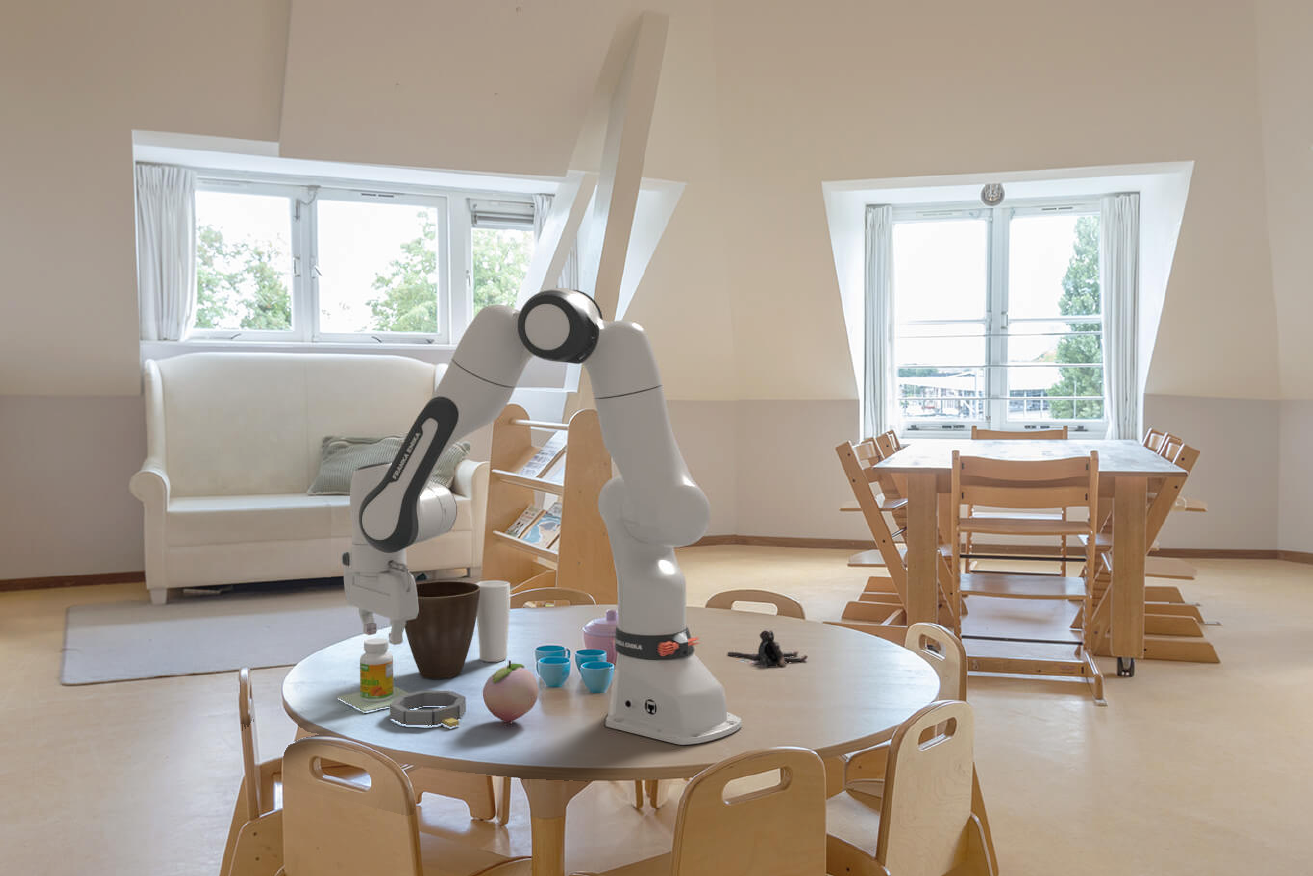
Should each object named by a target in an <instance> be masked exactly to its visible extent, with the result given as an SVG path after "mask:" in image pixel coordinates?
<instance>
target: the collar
mask: <svg viewBox="0 0 1313 876" xmlns="http://www.w3.org/2000/svg"><path fill="white" fill-rule="evenodd" d="M409 693H410V692H409ZM466 699H467V698H466V696H464V695H462V694H460V693H457V692H455V691H452V690H451V691H450V690H424V691H423V690H421V691H416V692H411V693H410V694H406V695H402V696H400V697H397V698H396V699H395V700H394V701H393V702H392V703H391V704H390V708H389V720H390V719H394V720H395V721H398V722H400V723H401V724H406V725H428V726H429V725H431V726H432V725H438V724H441V723H443V724H445V725H447V726H449V727H452V726H456V725H459V726H460V721H458V719H461V717H462V716H463V715H464V716H465V714H466V713H465V712H467V709H466V707H467V706H466V705H467V702H466ZM423 706H446V707H442V708H433V709H417V710H410V709H414V708H419V707H423ZM464 713H465V714H464ZM464 716H463V717H464ZM463 717H462V718H463ZM461 720H462V719H461Z"/></svg>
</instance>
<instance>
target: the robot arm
mask: <svg viewBox="0 0 1313 876" xmlns="http://www.w3.org/2000/svg"><path fill="white" fill-rule="evenodd" d="M533 357H536V358H540V359H543V360H545V361H550V362H555V363H557V362H558V363H568V364H576V365H579V364H582V365H583V366H584V367H585V368H586V371H587V374H588V375H589V380H590V383H591V390H592V393H593V394H592V395H593V399H594V406H595V408H596V413H597V419H598V423H599V428H600V434H601V438H602V444H603V446H604V447H605V449H606V452H608V453H609V455H610V456H611V458H612V459H613V461H614V463H615V465H616V467H617V469H618V472H619V473H620V474H619V475H617V476H614V477H612V478H610V479H609V480H608V481H607V482H606V483H605V484H604V485H603V486H602V487H601V490H600V492H599V495H598V500H597V509H598V513H599V515H600V517H601V520H602V521H603V524H604V525H605V528H606V531H607V536H608V540H609V544H610V548H611V549H610V550H611V553H612V557H613V563H614V568H615V573H616V582H617V583H616V584H617V626H616V627H615V635H614V649H615V651H616V652H617V656H616V661H615V665H614V666H615V667H614V670H613V675H612V684H611V691H610V692H611V694H610V703H609V704H610V705H609V708H608V712H607V717H606V718H605V726H606V727H607V728H611V729H615V730H620V731H622V732H628V733H631V734H635V735H639V736H643V737H647V738H651V739H655V740H658V741H664V742H667V743H671V744H676V745H681V746H684V745H686V746H687V745H696V744H702V743H707V742H710V741H714V740H717V739H721V738H723V737H726V736H728V735H731V734H733V733H734V732H737V731H739V729H740V728H741V727H742V726H743V722H742V718H740V717H739V716H737V715H735V714H733V713H731V712H728V709H727V708H728V707H727V698H726V693H725V689H724V686H723V685H722V683H720V681H719V680H718V679H717V678H716V677H715V676H714V675H713V674H712V672H711V671H710V670H709V669H708V668H707V666H705V664H703V662H702V661H701V659H699V658H698V656H697V655H696V654H695V653H694V652H695V647H694V646H696V645H698V644H699V643H700V642H696V641H697V640H699V638H700V637H698V636H696V637H691V636H692V635H691V633H690V630H689V627H688V626H687V581H686V578H685V577H686V576H685V575H684V573H683V571H682V569H681V568H680V565H679V563H678V560H677V558H676V557H677V556H676V554H675V550H674V549H675V548H681V547H686V546H691V545H693V544H695V543H697V542H698V541H699V540H700V539H702V538H703V536H704V535H705V534H706V533H707V530H708V529H709V527H710V523H711V519H712V509H711V504H710V501H709V499H708V497H707V495H706V494H705V493H704V492H703V490H702V489H701V488H700V487H699V485H697V483H696V482H695V481H694V479H693V476H692V474H691V472H690V470H689V467H688V465H687V464H686V461H685V459H684V457H683V454H682V452H681V450H680V448H679V445H678V442H677V440H676V437H675V436H674V435H675V434H674V431H673V429H672V424H671V420H670V415H669V410H668V405H667V400H666V397H665V396H666V395H665V390H664V386H663V381H662V377H661V376H662V375H661V372H660V368H659V364H658V360H657V358H656V354H655V352H654V349H653V346H652V344H651V341H650V339H649V336H648V334H647V332H646V329H644V328H643V327H642V326H641V325H640V324H639V323H636V322H633V321H628V320H616V321H605V320H604V318H603V315H602V310H601V308H600V306H599V305H598V303H597V302H596V300H595V299H593V297H591V296H590V295H589V294H588V293H585V292H584V291H581V290H577V289H571V288H568V287H567V288H566V287H556V288H551V289H550V288H549V289H548V290H542V291H539V292H538V293H536V294H533V296H531V297H529V299H527V301H526V302H524V304H523V306H522V308H521V310H517V309H515V308H513V307H511V306H508V305H504V304H489V305H486V306H484V307H482V308H481V309H480V310H479V311H478V312H477V314H476V315H475V316H474V318H473V320H472V321H471V322H470V324H469V325H468V327H467V329H466V330H465V332H464V334H463V335H462V337H461V339H460V341H459V343H458V344H457V346H456V349H455V350H454V353H453V355H452V358H451V360H450V361H449V364H448V366H447V368H446V370H445V373H444V374H443V376H442V379H441V380H440V382H439V384H438V386H437V387H436V390H435V391H434V393H433V394H432V395H431V397H430V399H429V400H428V401H427V402H426V404H425V406H424V407H423V409H422V410H421V412H420V413H419V414H418V416H417V418H416V419H415V421H414V423H413V425H412V426H411V427H410V430H409V432H408V433H407V435H406V437H405V439H404V441H403V443H402V445H401V446H400V448H399V450H398V452H397V454H396V455H395V457H394V459H393V460H392V461H384V462H378V463H372V464H368V465H367V464H366V465H363V466H361V467H358V468H357V469H356V470H355V471H354V472H353V473H352V476H351V481H350V485H349V486H350V487H349V488H350V489H349V514H350V515H349V516H350V520H351V523H352V536H351V541H350V542H351V544H350V545H351V547H350V548H349V549H348V550H345V551H343V552H342V553H341V554H340V564H341V565H342V566H343V567H344V568H343V583H344V584H343V585H344V593H345V598H346V601H347V603H348V605H349V606H352V607H354V608H358V614H359V617H360V620H361V623H362V625H363V626H362V629H363V630H362V631H363V634H365V635H367V636H371V635H375V634H377V630H378V629H377V623H376V622H375V618H374V615H373V614H375V615H378V616H382V617H384V618H387V619H389V620H390V625H391V629H390V632H388V643H390V644H391V645H394V646H396V645H401V644H402V643H403V641H404V640H403V633H404V631H405V625H406V621H407V620H412V619H416V618H417V615H418V612H419V607H418V597H417V589H416V584H417V583H416V580H415V576H414V575H413V574H412V573H411V572H410V570H409V569H408V566H407V548H408V547H410V546H413V545H417V544H420V543H423V542H426V541H428V540H432V539H434V538H439V537H440V536H442V535H444V534H446V533H448V532H449V531H450V530H451V529H452V528H453V526H454V525H455V522H456V520H457V516H458V506H457V501H456V498H455V497H454V494H453V492H452V491H451V490H450V489H449V488H448V487H447V486H446V485H444V484H442V483H439V482H436V481H435V482H434V481H431V478H432V477H433V474H435V472H436V469H437V467H438V466H439V463H440V462H441V460H442V458H443V457H444V455H445V454H446V453H447V452H448V450H450V449H451V448H452V447H453V445H455V444H456V443H457V442H459V441H460V440H462V439H463V438H465V437H467V436H468V435H470V434H471V433H474V432H475V431H477V430H480V429H482V428H484V427H486V426H488V425H490V424H492V423H493V422H494V421H496V420H497V419H498V417H500V415H501V413H502V412H503V411H504V409H505V408H506V406H507V405H508V404H509V401H510V399H511V397H512V396H513V393H514V391H515V389H516V387H517V385H518V382H519V380H520V378H521V376H522V373H523V372H524V369H525V367H526V366H527V364H528V363H529V362H530V360H531V359H532V358H533Z"/></svg>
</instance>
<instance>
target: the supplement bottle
mask: <svg viewBox="0 0 1313 876" xmlns="http://www.w3.org/2000/svg"><path fill="white" fill-rule="evenodd" d="M389 648H390V647H389V639H388V638H387V639H386V638H381V637H377V638H370V639H366V640H364V641H363V650H364V653H363V654H362V655H360V658H359V659H360V660H359V672H360V673H359V674H360V675H359V683H360V684H359V685H360V686H359V690H360V691H359V692H360V697H361V699H362V700H363V701H366V702H381V701H386V700H389V699H390V698H392V697H393V686H394V658H393V657H394V656H393V654H392V652H390V651H388V650H389Z"/></svg>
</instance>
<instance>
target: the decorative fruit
mask: <svg viewBox="0 0 1313 876" xmlns="http://www.w3.org/2000/svg"><path fill="white" fill-rule="evenodd" d="M538 697H539V684H538V680H537V678H536V676H535V675H534V674H533V673H532V672H531V671H530V670H528V669H526V668H525V665H523V664H522V663H515V662H513V663H512V661H511V660H508V664H507V665H506V666H503V667H500V668H499V669H497V670H496V671H495V673H493V674H492V675H490V676H489V678H488V679H486V682H485V684H484V686H483V689H482V698H483V702H484V704H485V706H486V708H487V709H488V711H489V712H490V713H491V714H492V715H493V716H494V717H495V718H497V719H498V720H501V721H503V722H504V723H506V724H512V723H513V722H514V721H516V720H518V719H520V718H521V717H523V716H524V715H526V714H527V713H528V712H530V711H531V710H532V708H534V706H535V705H536V703H537V700H538ZM511 722H512V723H511Z"/></svg>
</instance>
